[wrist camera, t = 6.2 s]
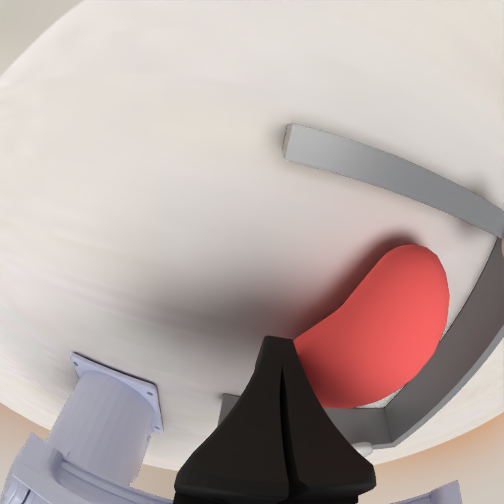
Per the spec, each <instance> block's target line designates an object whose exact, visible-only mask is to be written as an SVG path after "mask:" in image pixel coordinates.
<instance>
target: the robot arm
mask: <svg viewBox="0 0 504 504" xmlns="http://www.w3.org/2000/svg"><path fill="white" fill-rule="evenodd" d="M70 359H71V361H72V364H73V366H74V368H75V370H76V373H77V375H78V377H79V381H78V383H77V384H76V386H75V388H74V390H73V391H72V393H71V395H70V397H69V398H68V400H67V402H66V404H65V405H64V407H63V409H62V411H61V413H60V414H59V416H58V418H57V420H56V422H55V424H54V426H53V428H52V429H51V431H50V433H49V435H48V437H47V439H46V441H45V440H43V439H42V438H40V437H39V436H37V435H36V434H34V433H31V434H30V436H29V438H28V439H27V441H26V444H25V446H24V447H22V449H21V450H20V451H19V453H18V454H17V456H16V458H15V460H14V462H13V464H12V466H11V468H10V470H9V473H8V476H7V479H6V481H5V485H4V489H3V491H2V494H1V500H0V504H356V503H358V495H361V494H363V493H365V492H368V491H370V490H371V489H373V488H374V487H375V486H376V476H375V472H374V467H373V465H372V464H371V463H370V462H369V461H367V460H366V459H365V458H364V457H363V456H362V455H361V454H360V453H359V452H358V451H357V450H356V449H355V448H354V447H353V446H352V445H351V444H350V443H349V442H348V441H347V440H346V438H345V437H344V436H343V435H342V434H341V432H340V431H339V430H338V429H337V427H336V426H335V425H334V423H333V422H332V421H331V419H330V418H329V416H328V415H327V413H326V412H325V410H324V409H323V407H322V405H321V404H320V402H319V400H318V398H317V397H316V395H315V393H314V391H313V389H312V387H311V385H310V383H309V381H308V378H307V376H306V374H305V372H304V369H303V367H302V364H301V362H300V359H299V357H298V354H297V351H296V348H295V345H294V342H293V341H292V340H291V339H285V338H279V337H274V336H265V337H264V340H263V343H262V346H261V349H260V352H259V355H258V358H257V361H256V365H255V370H254V373H253V375H252V377H251V379H250V381H249V383H248V385H247V387H246V388H245V390H244V392H243V393H242V395H241V396H240V398H239V399H238V401H237V402H236V404H235V405H234V407H233V408H232V409H231V411H230V412H229V414H228V415H227V416H226V417H225V419H224V420H223V421H222V422H221V424H220V425H219V426H218V427H217V428H216V429H215V431H214V432H213V433H212V434H211V435H210V436H209V437H208V438H207V439H206V440H205V441H204V442H203V443H202V444H201V445H200V446H199V447H198V448H197V449H196V450H195V451H194V452H193V453H192V455H191V456H190V457H189V458H188V460H187V461H186V462H185V464H184V465H183V466H182V467H181V469H180V470H179V472H178V474H177V476H176V480H175V484H174V488H175V491H176V493H175V497H174V500H170V499H166V498H163V497H159V496H156V495H153V494H150V493H147V492H144V491H141V490H138V489H135V488H133V487H129V485H130V483H132V482H133V481H134V480H135V479H136V477H137V476H138V474H139V471H140V468H141V465H142V462H143V459H144V456H145V453H146V450H147V447H148V444H149V441H150V438H151V435H152V432H153V431H154V432H157V433H163V425H162V420H161V414H160V407H159V401H158V394H157V388H156V387H155V386H154V385H153V384H150V383H147V382H144V381H141V380H138V379H136V378H133V377H130V376H127V375H124V374H122V373H119V372H117V371H114V370H111V369H109V368H106V367H104V366H102V365H99V364H97V363H94V362H92V361H90V360H88V359H85V358H83V357H81V356H79V355H77V354H74V353H72V354H71V356H70ZM392 504H462V500H461V493H460V489H459V484H458V480H456V481H453V482H451V483H448V484H446V485H443V486H441V487H439V488H437V489H435V490H433V491H431V492H429V493H427V494H423V495H420V496H417V497H414V498H411V499H407V500H403V501H400V502H396V503H392Z"/></svg>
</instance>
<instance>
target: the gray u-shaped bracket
mask: <svg viewBox="0 0 504 504" xmlns="http://www.w3.org/2000/svg"><path fill="white" fill-rule="evenodd" d="M282 150H283V155H284V159H285V160H287V161H291V162H295V163H299V164H303V165H307V166H311V167H315V168H318V169H322V170H326V171H329V172H333V173H336V174H340V175H343V176H347V177H350V178H353V179H356V180H360V181H363V182H366V183H369V184H372V185H375V186H378V187H381V188H384V189H387V190H390V191H393V192H395V193H398V194H401V195H404V196H406V197H409V198H412V199H414V200H417V201H419V202H422V203H424V204H427V205H429V206H432V207H434V208H437V209H439V210H442V211H444V212H446V213H449V214H451V215H453V216H455V217H458V218H460V219H462V220H464V221H466V222H469V223H471V224H473V225H475V226H477V227H479V228H481V229H483V230H485V231H487V232H489V233H491V234H493V235H495V236H497V237H498V240H497V242H496V244H495V247H494V249H493V251H492V253H491V256H490V258H489V260H488V262H487V264H486V266H485V268H484V270H483V272H482V274H481V276H480V278H479V280H478V282H477V284H476V286H475V288H474V289H473V291H472V293H471V295H470V297H469V298H468V300H467V302H466V303H465V305H464V307H463V308H462V310H461V312H460V313H459V315H458V317H457V318H456V320H455V321H454V323H453V324H452V326H451V327H450V329H449V330H448V332H447V333H446V335H445V336H444V337H443V339H442V340H441V342H440V343H439V344H438V346H437V348H436V350H435V352H434V354H433V355H432V356H431V357H430V359H429V360H428V361H427V363H426V364H425V365H424V366H423V368H422V369H421V370H420V371H419V372H418V374H417V375H416V376H415V377H414V378H413V379H412V380H410V381H409V382H408V383H407V384H406V386H405V387H404V388H403V389H402V390H401V391H400V392H399V393H398V394H397V395H396V396H395V398H394V399H393V400H392V401H391V402H390V403H389V404H388V405H387V406H386V407H385V408H349V409H341V408H323V409H324V410H325V412H326V413H327V415H328V416H329V418H330V419H331V421H332V422H333V423H334V425H335V426H336V427H337V429H338V430H339V431H340V432H341V434H342V435H343V436H344V437H345V438H346V440H347V441H348V442H349V443H350V444H351V445H352V446H353V447H354V448H355V449H356V450H357V451H358V452H359V453H360V454H361V455H362V456H363V457H366V456H368V455H370V454H371V453H372V452H373V449H383V448H391V447H395V446H397V445H398V444H400V443H401V442H402V441H404V440H405V439H406V438H407V437H409V436H410V435H411V434H413V433H414V432H415V431H416V430H417V429H419V428H420V427H421V426H422V425H423V424H425V423H426V422H427V421H428V420H429V419H430V418H432V417H433V416H434V415H435V414H436V413H437V412H438V411H439V410H440V409H441V408H442V407H444V406H445V405H446V404H447V403H448V402H449V401H450V400H451V399H452V398H453V397H454V396H455V395H456V394H457V393H458V392H459V391H460V390H461V388H462V387H463V386H464V385H465V384H466V383H467V382H468V381H469V380H470V379H471V378H472V376H473V375H474V374H475V373H476V372H477V371H478V369H479V368H480V367H481V366H482V365H483V363H484V362H485V361H486V360H487V358H488V357H489V356H490V355H491V353H492V352H493V351H494V349H495V348H496V347H497V345H498V344H499V343H500V341H501V340H502V338H503V337H504V211H503V210H501V209H499V208H498V207H496V206H495V205H493V204H491V203H490V202H488V201H486V200H485V199H483V198H481V197H480V196H478V195H476V194H474V193H473V192H471V191H469V190H467V189H465V188H463V187H462V186H460V185H458V184H456V183H454V182H452V181H450V180H448V179H446V178H444V177H442V176H440V175H438V174H436V173H434V172H431V171H429V170H427V169H425V168H423V167H420V166H418V165H416V164H414V163H411V162H409V161H407V160H404V159H402V158H399V157H397V156H394V155H392V154H389V153H387V152H384V151H381V150H379V149H376V148H373V147H370V146H367V145H365V144H362V143H359V142H356V141H353V140H350V139H347V138H343V137H340V136H337V135H334V134H330V133H327V132H323V131H320V130H316V129H312V128H309V127H305V126H301V125H297V124H288V125H287V129H286V134H285V138H284V143H283V147H282ZM239 398H240V397H239V396H234V395H229V394H224V397H223V401H222V406H221V411H220V416H219V421H218V426H219V425H220V424H221V422H222V421H223V420H224V419H225V417H226V416H227V415H228V414H229V412H230V411H231V409H232V408H233V407H234V405H235V404H236V402H237V401H238V399H239ZM218 426H217V427H218Z"/></svg>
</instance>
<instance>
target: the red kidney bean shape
mask: <svg viewBox="0 0 504 504" xmlns="http://www.w3.org/2000/svg"><path fill="white" fill-rule="evenodd" d="M448 306H449V289H448V283H447V278H446V273H445V270H444V268H443V266H442V264H441V262H440V260H439V258H438V257H437V255H436V254H434V253H433V252H432V251H430V250H429V249H428V248H426V247H423V246H419V245H416V244H409V245H402V246H398V247H396V248H394V249H392V250H391V251H389V252H387V253H386V254H385V255H384V256H383V257H382V258H381V259H380V260H379V261H378V262H377V264H376V265H375V266H374V267H373V268H372V269H371V271H370V272H369V273H368V274H367V275H366V277H365V278H364V279H363V280H362V282H361V283H360V284H359V285H358V286H357V288H356V289H355V290H354V291H353V292H352V294H351V295H350V296H349V297H348V299H347V300H346V301H345V302H344V304H343V305H342V306H341V307H340V308H339V309H337V310H336V311H335V312H333V313H332V314H330V315H329V316H328V317H326V318H325V319H323V320H322V321H320V322H319V323H317V324H316V325H315V326H313V327H312V328H310V329H309V330H307V331H306V332H304V333H303V334H301V335H300V336H298V337H297V338H296V339H294V340H293V342H294V345H295V348H296V351H297V354H298V357H299V359H300V362H301V364H302V367H303V369H304V372H305V374H306V376H307V378H308V381H309V383H310V385H311V387H312V389H313V391H314V393H315V395H316V397H317V398H318V400H319V402H320V404H321V405H322V407H323V408H341V409H349V408H354V407H358V406H362V405H366V404H370V403H373V402H376V401H379V400H381V399H383V398H385V397H387V396H388V395H390V394H392V393H393V392H395V391H397V390H398V389H400V388H401V387H403V386H404V385H405V384H407V383H408V382H409V381H410V380H412V379H413V378H414V377H415V376H416V375H417V374H418V372H419V371H420V370H421V369H422V368H423V366H424V365H425V364H426V363H427V361H428V360H429V359H430V357H431V356H432V355H433V354H434V352H435V350H436V348H437V346H438V343H439V341H440V338H441V336H442V334H443V331H444V329H445V326H446V323H447V315H448Z"/></svg>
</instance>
